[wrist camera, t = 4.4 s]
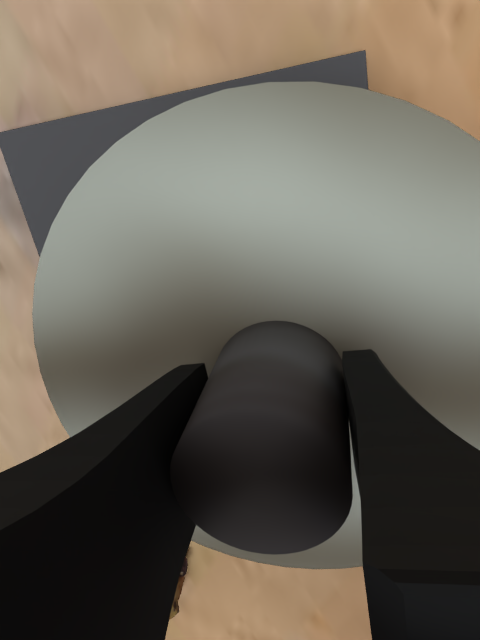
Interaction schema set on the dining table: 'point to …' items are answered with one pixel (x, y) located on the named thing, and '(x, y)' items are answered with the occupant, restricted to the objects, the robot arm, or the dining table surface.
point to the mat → (113, 124)
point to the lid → (269, 296)
